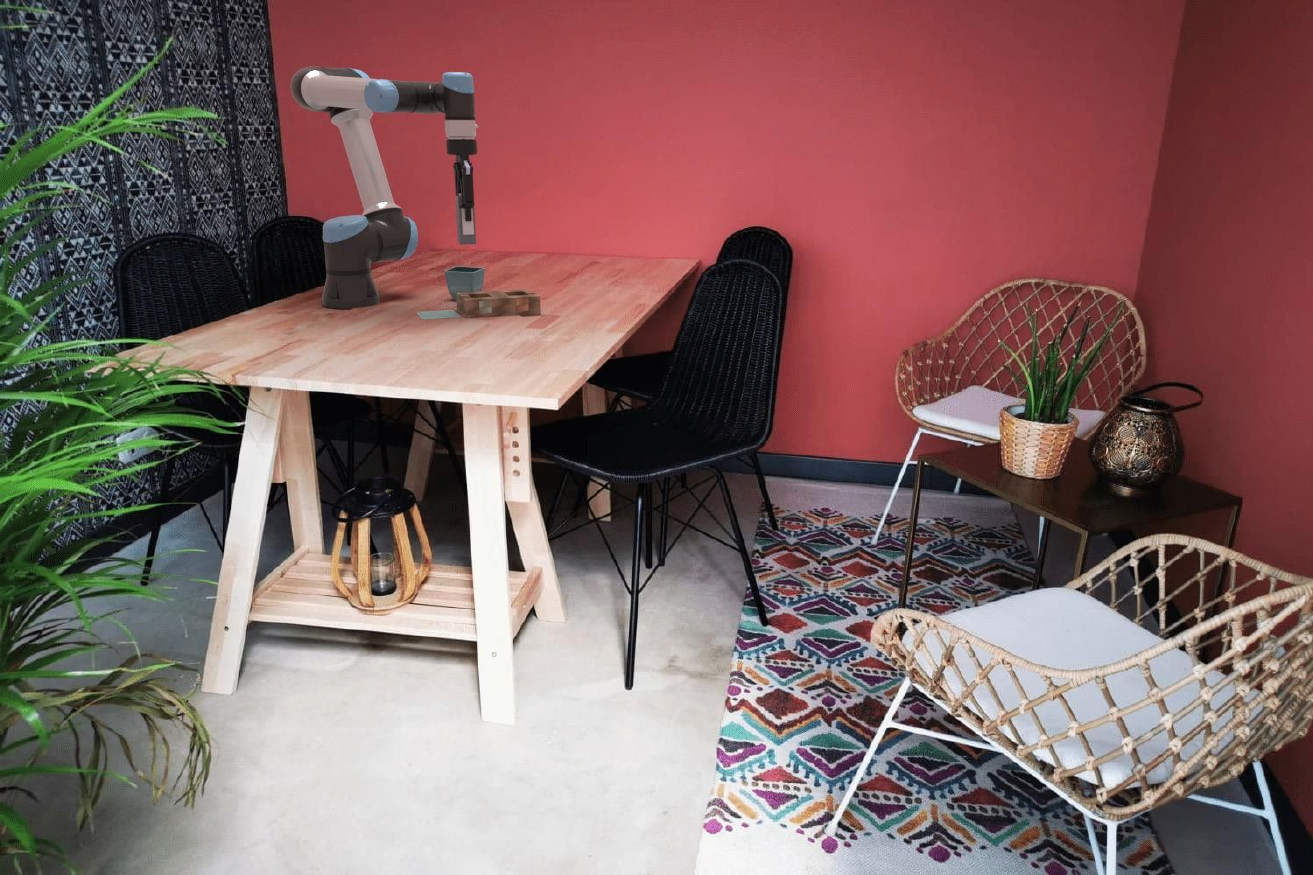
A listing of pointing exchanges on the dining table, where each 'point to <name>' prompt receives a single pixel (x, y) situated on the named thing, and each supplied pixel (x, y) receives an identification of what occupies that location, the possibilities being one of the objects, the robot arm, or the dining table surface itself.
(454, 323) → the dining table surface
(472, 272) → the flower pot
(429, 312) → the mat
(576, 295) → the dining table surface
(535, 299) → the socket block
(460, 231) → the plug
